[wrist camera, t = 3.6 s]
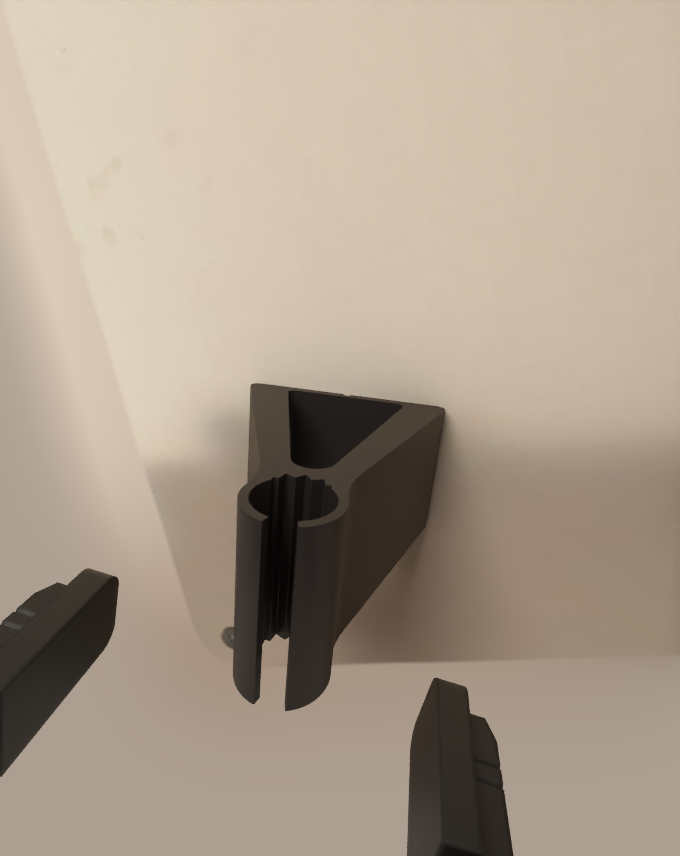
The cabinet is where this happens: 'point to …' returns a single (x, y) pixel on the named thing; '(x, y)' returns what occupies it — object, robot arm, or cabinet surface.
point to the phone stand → (323, 522)
